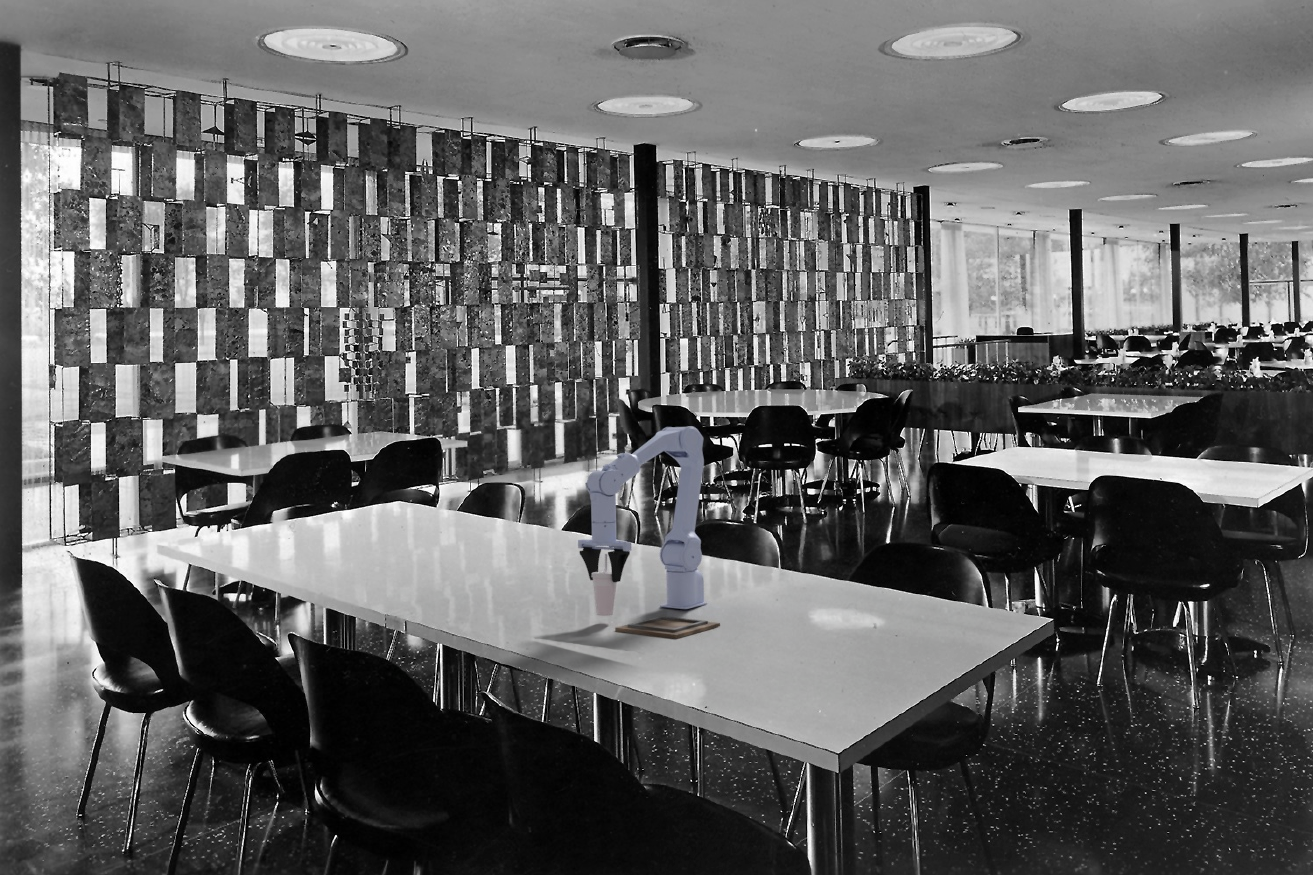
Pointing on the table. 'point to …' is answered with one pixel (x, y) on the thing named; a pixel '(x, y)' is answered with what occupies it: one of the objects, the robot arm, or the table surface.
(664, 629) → the holder
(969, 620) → the table surface
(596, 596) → the smoothie
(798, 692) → the table surface
